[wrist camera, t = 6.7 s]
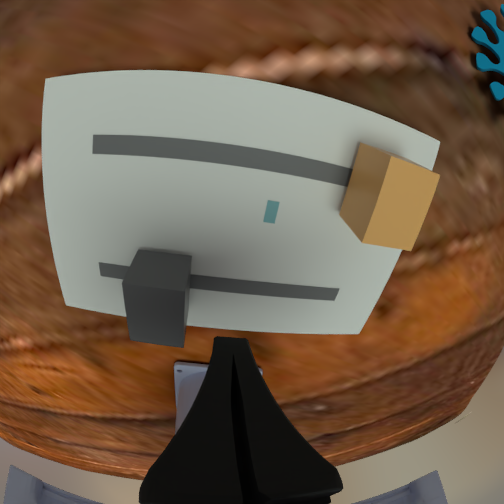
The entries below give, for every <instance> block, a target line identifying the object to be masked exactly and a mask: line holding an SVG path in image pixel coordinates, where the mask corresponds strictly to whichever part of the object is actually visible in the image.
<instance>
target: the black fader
mask: <svg viewBox="0 0 504 504" xmlns="http://www.w3.org/2000/svg"><path fill="white" fill-rule="evenodd" d="M191 262H192V256H190V255H181V254H173V253H165V252H156V251H148V250H140V249H138V251H137V253H136V255H135V257H134V259H133V261H132V263H131V265H130V267H129V269H128V271H127V273H126V275H125V277H124V279H123V281H122V288H123V296H124V304H125V311H126V317H127V323H128V329H129V335H130V340H133V341H139V342H145V343H152V344H158V345H166V346H173V347H181V348H184V340H185V332H186V325H187V317H188V309H189V291H190V275H191Z"/></svg>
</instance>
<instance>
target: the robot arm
mask: <svg viewBox="0 0 504 504" xmlns="http://www.w3.org/2000/svg"><path fill="white" fill-rule="evenodd" d="M262 374H263V372H262V369H261V368H258V366H257V364H256V362H255V359H254V357H253V354H252V351H251V348H250V345H249V342H248V340H247V339H246V338H231V337H218V336H217V337H215V338H214V343H213V351H212V356H211V359H210V363H209V365H206V364H196V363H186V362H176V363H175V364H174V378H175V395H176V408H177V414H176V427H175V436H174V437H173V438H172V440H171V441H170V443H169V444H168V446H167V447H166V448H165V450H164V451H163V453H162V454H161V455H160V456H159V458H158V459H157V460H156V461H155V463H154V464H153V465H152V466H151V468H150V469H149V470H148V473H147V475H146V476H145V478H144V480H143V482H142V484H141V487H140V491H139V503H140V504H329V503H331V499H330V496H331V495H333V494H336V493H338V492H340V491H341V490H342V489H343V484H342V480H341V478H340V475H339V473H338V471H337V469H336V468H335V467H334V466H333V465H332V464H330V463H329V462H328V461H327V460H326V459H325V458H323V457H322V456H321V455H320V454H319V453H318V452H317V451H316V450H315V449H314V448H313V447H312V446H311V445H310V444H309V443H308V442H307V441H306V440H305V439H304V438H303V437H302V435H301V434H300V433H299V432H298V431H297V430H296V429H295V427H294V426H293V425H292V424H291V422H290V421H289V420H288V418H287V417H286V416H285V414H284V413H283V411H282V410H281V408H280V407H279V405H278V404H277V402H276V401H275V399H274V397H273V396H272V394H271V392H270V390H269V389H268V387H267V385H266V383H265V381H264V379H263V377H262ZM4 504H103V503H99V502H96V501H92V500H89V499H86V498H83V497H80V496H77V495H75V494H72V493H69V492H66V491H64V490H61V489H59V488H56V487H54V486H52V485H49V484H47V483H45V482H43V481H42V480H40V479H38V478H36V477H34V476H32V475H30V474H28V473H26V472H24V471H22V470H21V469H19V468H16V467H15V466H13V465H10V469H9V474H8V479H7V484H6V490H5V496H4ZM353 504H448V503H447V500H446V496H445V493H444V490H443V487H442V484H441V480H440V477H439V474H438V471H436V470H435V471H433V472H431V473H429V474H427V475H425V476H423V477H421V478H419V479H417V480H414V481H412V482H410V483H409V484H407V485H405V486H402V487H400V488H397V489H395V490H392V491H390V492H387V493H384V494H381V495H379V496H375V497H372V498H369V499H366V500H363V501H359V502H356V503H353Z"/></svg>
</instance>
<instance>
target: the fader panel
mask: <svg viewBox="0 0 504 504" xmlns="http://www.w3.org/2000/svg"><path fill="white" fill-rule="evenodd" d="M360 142H361V143H364V144H367V145H370V146H374V147H377V148H379V149H382V150H385V151H388V152H391V153H394V154H396V155H399V156H402V157H404V158H407V159H409V160H411V161H413V162H415V163H417V164H419V165H421V166H423V167H425V168H427V169H429V170H431V171H432V169H433V166H434V163H435V159H436V156H437V152H438V149H439V145H440V141H438V140H436V139H434V138H432V137H430V136H428V135H426V134H423V133H421V132H419V131H417V130H415V129H413V128H411V127H408V126H406V125H404V124H401V123H399V122H397V121H394V120H392V119H390V118H387V117H385V116H382V115H379V114H377V113H374V112H372V111H369V110H366V109H363V108H361V107H358V106H355V105H352V104H349V103H346V102H343V101H340V100H336V99H333V98H330V97H326V96H323V95H319V94H316V93H312V92H308V91H304V90H300V89H296V88H292V87H288V86H283V85H279V84H274V83H269V82H264V81H259V80H253V79H247V78H241V77H234V76H226V75H218V74H209V73H199V72H186V71H166V70H123V71H104V72H92V73H82V74H74V75H66V76H60V77H53V78H48V79H46V80H45V89H44V100H43V114H42V170H43V185H44V196H45V205H46V214H47V221H48V228H49V234H50V240H51V245H52V250H53V255H54V260H55V265H56V269H57V273H58V277H59V281H60V285H61V289H62V293H63V296H64V300H65V303H66V305H68V306H72V307H77V308H82V309H87V310H92V311H97V312H102V313H108V314H113V315H119V316H125V317H126V311H125V304H124V296H123V288H122V281H123V279H124V277H125V275H126V273H127V271H128V269H129V267H130V265H131V263H132V261H133V259H134V257H135V255H136V253H137V251H138V249H140V250H148V251H156V252H165V253H173V254H181V255H190V256H192V262H191V275H190V291H189V309H188V317H187V325H190V326H199V327H209V328H219V329H231V330H243V331H258V332H276V333H301V334H359V333H360V331H361V329H362V328H363V326H364V324H365V322H366V321H367V319H368V317H369V315H370V313H371V312H372V310H373V308H374V306H375V304H376V302H377V300H378V298H379V297H380V295H381V293H382V291H383V289H384V287H385V285H386V283H387V281H388V279H389V277H390V275H391V273H392V271H393V268H394V266H395V264H396V262H397V260H398V258H399V255H400V253H401V251H402V249H396V248H390V247H384V246H378V245H371V244H365V243H361V241H360V240H359V239H358V238H357V236H356V235H355V234H354V233H353V231H352V230H351V229H350V228H349V226H348V225H347V224H346V223H345V221H344V220H343V219H342V218H341V217H340V215H339V213H340V210H341V207H342V204H343V201H344V198H345V194H346V191H347V188H348V184H349V181H350V178H351V174H352V171H353V167H354V164H355V160H356V156H357V153H358V149H359V145H360Z"/></svg>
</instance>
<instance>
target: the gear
mask: <svg viewBox="0 0 504 504" xmlns="http://www.w3.org/2000/svg"><path fill="white" fill-rule="evenodd" d="M500 12H501V14H502V15H503V17H504V4H501V8H500ZM480 18H481V20H482V21H483V22H484V23H485V24H486V25H487V26H489V27H490V28H491V30H492V31H493V32H494V34H495V36H496V38H497V41H498V44H493V43H491V42H490V41H489V40H488V38H487V35H486V33H485V31H484V30H483V29H482V28H480V27H478V26H477V27H475V29H474V30H473V32H472V37H471V38H472V40H473V41H474V42H475V43H477V44H480V45H483V46H485V47H487V48H488V49H489V50H491V51H492V52H493V53H494V55H495V56H496V57H497V58H498V60H499V64H493V63H492V62H491V61H490V60H489V59H488V58H487V57H486V56H485V55H484V54H482V53H477V56H476V66H477V69H478V70H480V71H482V72H485V71H495V72H498V73H500V74H501V75H503V76H504V32H503V31H501V30H500V29H499V28H498V27H497V26H496V16H495V14H494V13H493V12H492V11H491V10H485V11H482V12H480ZM489 87H490V91H491V93H492V95H493V97H494V99H495V100H497V101H499V100H501V99H503V98H504V86H503V85H501V84H500V83H498V82H492V83H491V84H490V86H489Z"/></svg>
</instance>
